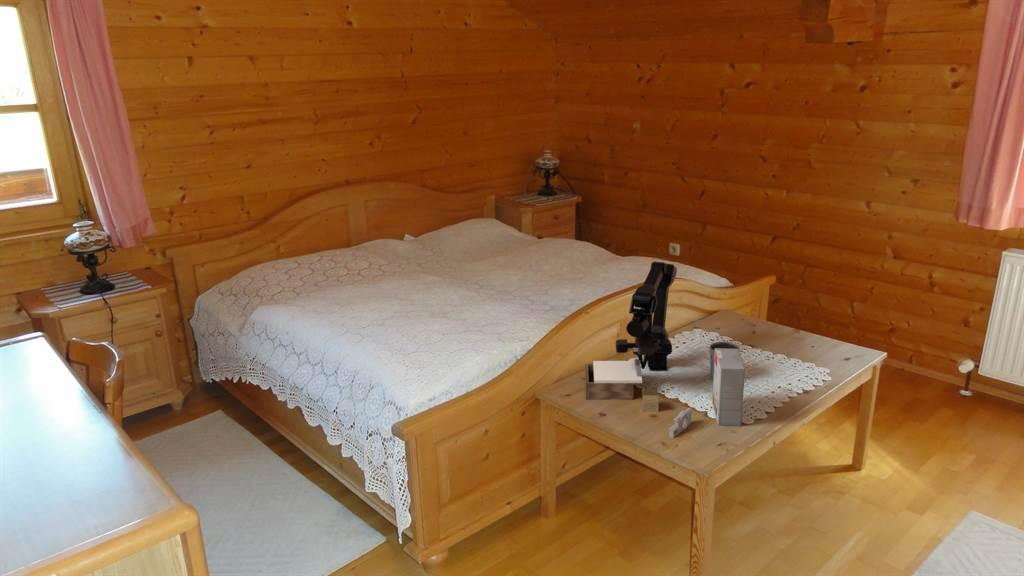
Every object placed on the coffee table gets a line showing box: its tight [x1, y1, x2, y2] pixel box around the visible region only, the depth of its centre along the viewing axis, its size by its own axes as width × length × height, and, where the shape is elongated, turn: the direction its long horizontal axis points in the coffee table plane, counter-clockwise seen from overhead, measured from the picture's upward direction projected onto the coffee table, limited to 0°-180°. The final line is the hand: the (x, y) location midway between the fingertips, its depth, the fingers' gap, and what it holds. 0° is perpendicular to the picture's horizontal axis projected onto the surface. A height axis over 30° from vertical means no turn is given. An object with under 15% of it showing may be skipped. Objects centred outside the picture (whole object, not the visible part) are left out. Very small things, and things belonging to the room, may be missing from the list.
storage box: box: [584, 363, 635, 401], centre depth 249 cm, size 16×16×6 cm
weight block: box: [641, 387, 660, 413], centre depth 235 cm, size 5×5×6 cm
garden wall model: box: [668, 407, 693, 438], centre depth 221 cm, size 12×2×6 cm, turn 139°
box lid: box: [592, 358, 643, 384], centre depth 247 cm, size 16×16×3 cm
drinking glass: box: [709, 341, 740, 381], centre depth 253 cm, size 10×10×12 cm
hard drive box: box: [712, 348, 746, 427], centre depth 227 cm, size 16×8×20 cm, turn 171°
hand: (643, 368), depth 247 cm, fingers closed
